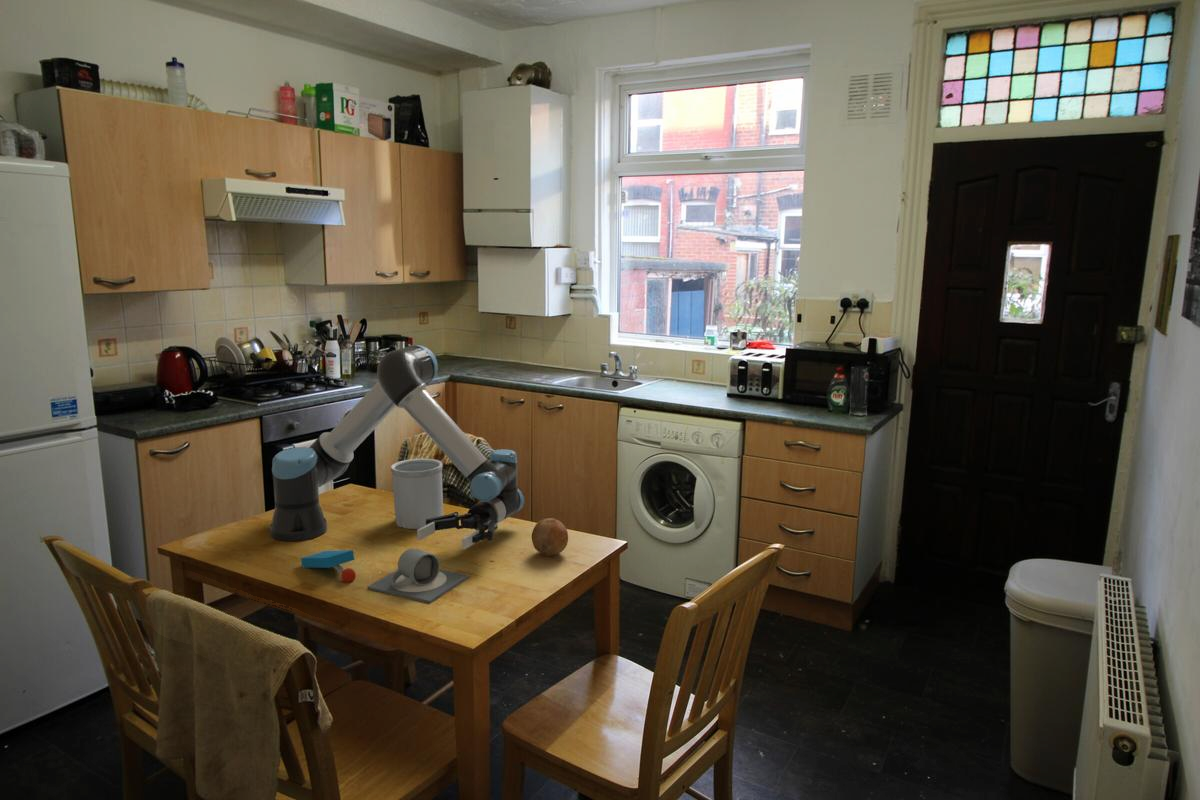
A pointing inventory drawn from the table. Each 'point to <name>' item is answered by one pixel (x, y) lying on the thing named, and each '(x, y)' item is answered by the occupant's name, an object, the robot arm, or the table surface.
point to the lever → (332, 562)
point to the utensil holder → (417, 491)
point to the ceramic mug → (416, 568)
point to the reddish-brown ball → (549, 537)
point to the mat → (418, 592)
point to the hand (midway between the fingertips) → (440, 539)
